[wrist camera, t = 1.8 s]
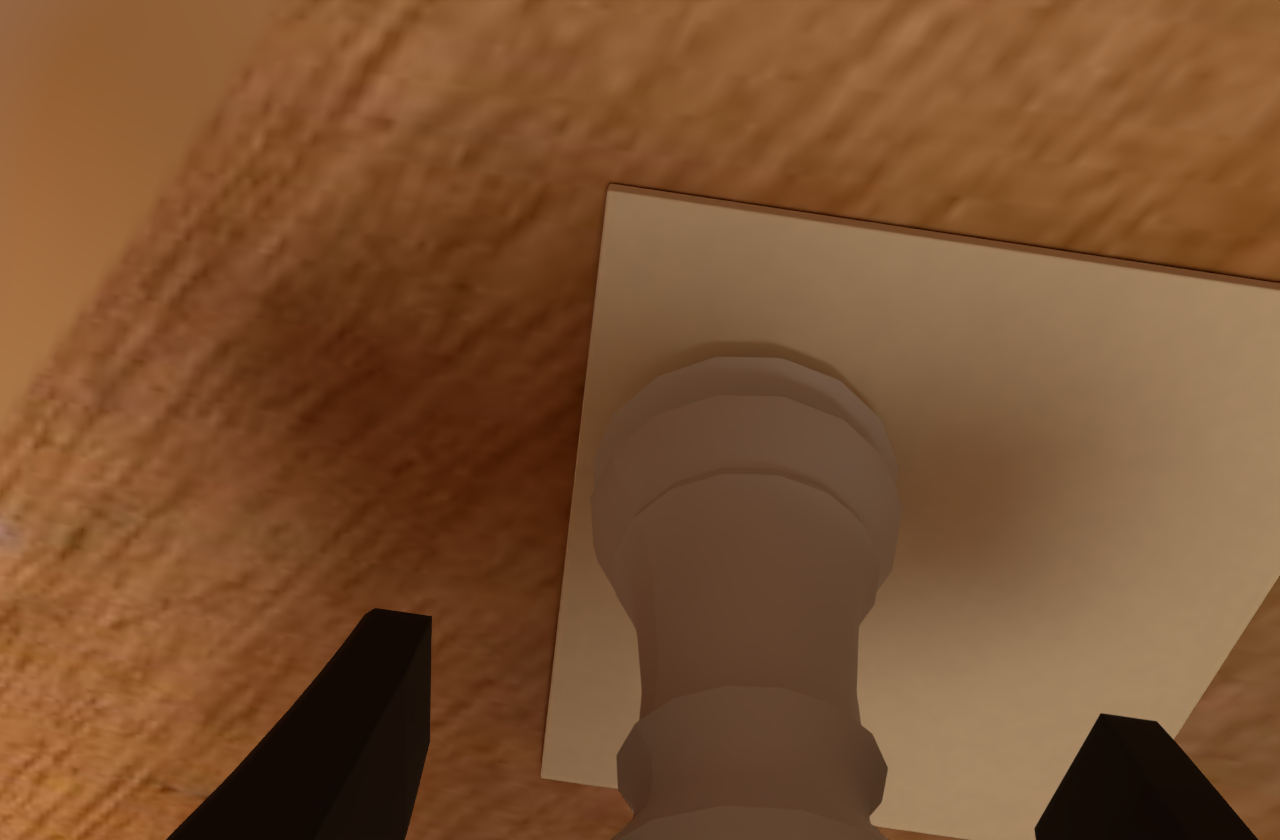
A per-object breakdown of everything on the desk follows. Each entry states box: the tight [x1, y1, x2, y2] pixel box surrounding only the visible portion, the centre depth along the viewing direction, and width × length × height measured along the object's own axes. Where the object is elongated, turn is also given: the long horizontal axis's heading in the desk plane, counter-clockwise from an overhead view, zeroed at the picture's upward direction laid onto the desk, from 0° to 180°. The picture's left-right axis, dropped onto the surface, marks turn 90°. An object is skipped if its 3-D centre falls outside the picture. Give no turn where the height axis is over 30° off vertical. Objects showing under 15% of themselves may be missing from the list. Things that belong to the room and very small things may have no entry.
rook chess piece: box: [591, 357, 903, 840], centre depth 12 cm, size 4×4×8 cm
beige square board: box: [540, 184, 1280, 840], centre depth 16 cm, size 11×12×1 cm
